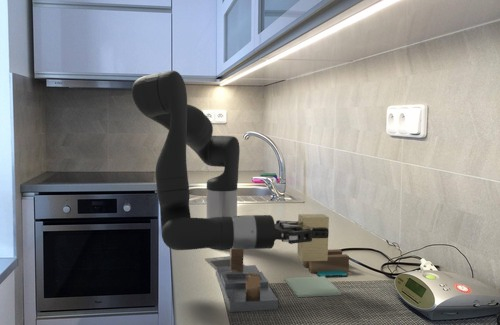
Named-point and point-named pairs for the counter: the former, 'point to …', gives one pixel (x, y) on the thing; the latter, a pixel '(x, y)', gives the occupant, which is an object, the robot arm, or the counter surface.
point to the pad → (312, 286)
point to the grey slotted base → (244, 286)
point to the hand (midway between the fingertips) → (324, 230)
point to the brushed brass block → (317, 246)
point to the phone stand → (330, 262)
